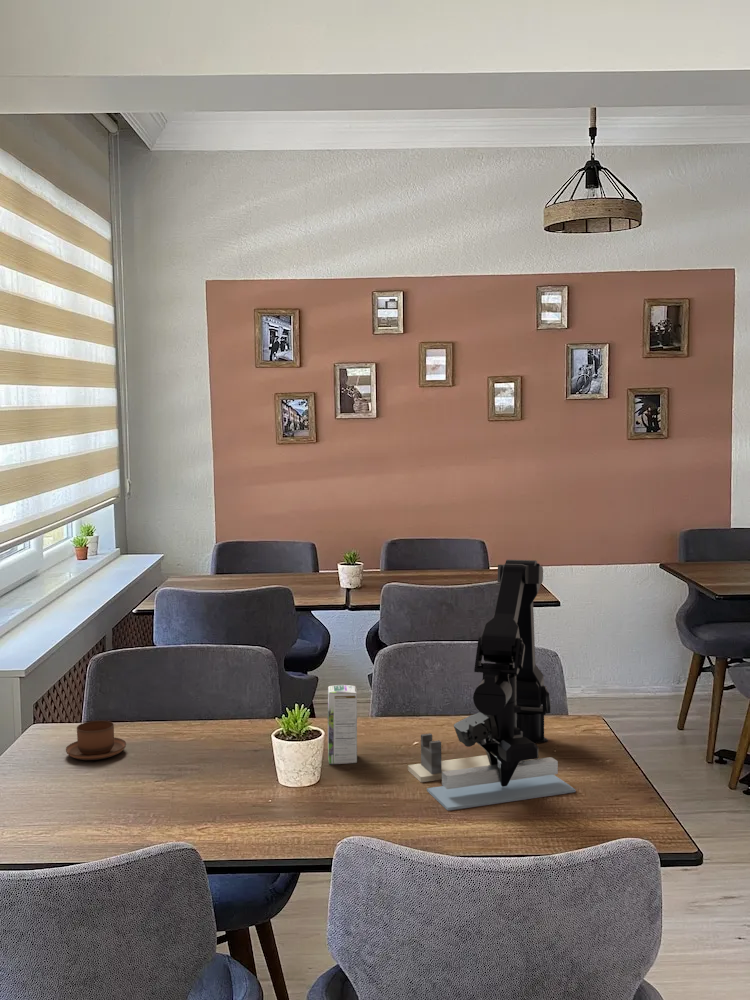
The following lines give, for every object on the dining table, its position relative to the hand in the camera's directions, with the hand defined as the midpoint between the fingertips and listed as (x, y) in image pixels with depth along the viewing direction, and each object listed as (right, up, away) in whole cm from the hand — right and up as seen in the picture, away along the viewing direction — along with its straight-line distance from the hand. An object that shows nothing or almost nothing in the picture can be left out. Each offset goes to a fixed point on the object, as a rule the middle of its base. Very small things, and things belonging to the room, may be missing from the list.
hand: (500, 783), depth 186 cm
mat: (0, -2, 0) cm, 2 cm away
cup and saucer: (-80, -1, +24) cm, 84 cm away
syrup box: (-29, -1, +19) cm, 35 cm away
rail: (0, +1, 0) cm, 1 cm away
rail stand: (-4, -1, +12) cm, 13 cm away
